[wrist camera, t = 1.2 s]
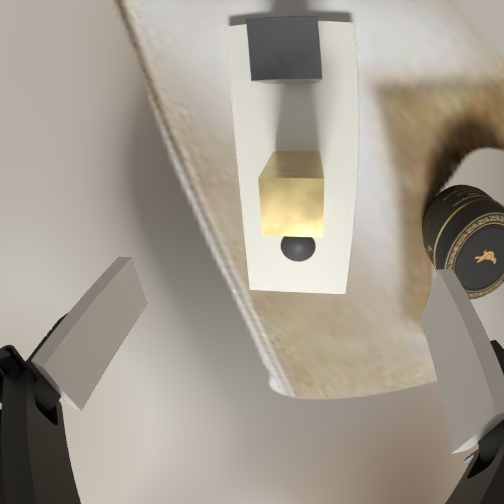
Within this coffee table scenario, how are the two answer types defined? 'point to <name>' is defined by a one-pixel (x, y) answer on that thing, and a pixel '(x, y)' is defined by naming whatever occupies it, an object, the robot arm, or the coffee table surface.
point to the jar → (466, 238)
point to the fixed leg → (284, 50)
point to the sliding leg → (292, 194)
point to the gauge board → (299, 139)
